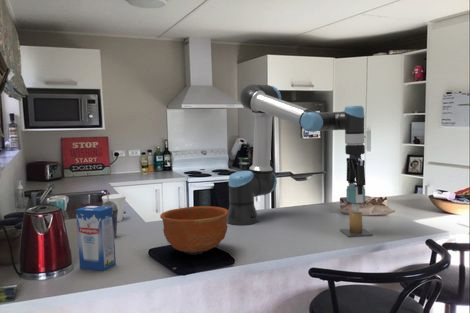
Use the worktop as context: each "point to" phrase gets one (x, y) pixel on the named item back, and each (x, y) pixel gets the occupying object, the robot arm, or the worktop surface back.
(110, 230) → the milk carton
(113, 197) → the cup
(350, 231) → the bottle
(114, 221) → the grey bottle
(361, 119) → the robot arm
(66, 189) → the worktop surface
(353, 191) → the cap
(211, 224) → the bowl
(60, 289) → the worktop surface
